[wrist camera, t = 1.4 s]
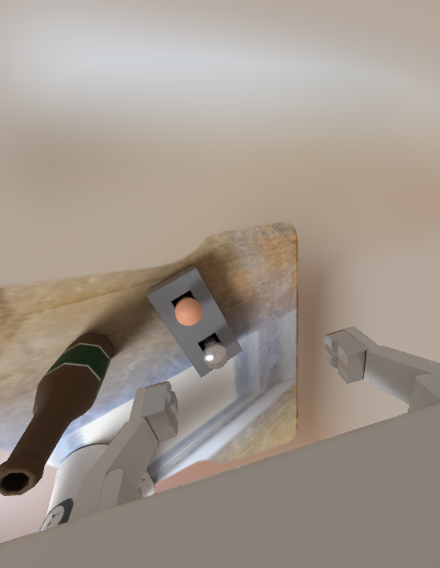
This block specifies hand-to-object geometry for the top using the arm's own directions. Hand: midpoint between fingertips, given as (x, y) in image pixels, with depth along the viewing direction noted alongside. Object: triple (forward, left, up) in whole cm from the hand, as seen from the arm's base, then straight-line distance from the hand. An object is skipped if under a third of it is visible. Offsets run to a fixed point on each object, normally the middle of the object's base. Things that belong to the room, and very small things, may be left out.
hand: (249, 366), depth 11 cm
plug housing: (-10, +3, -34) cm, 36 cm away
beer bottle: (-5, +23, -34) cm, 42 cm away
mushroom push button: (-5, +3, -31) cm, 31 cm away
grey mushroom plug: (-15, +3, -31) cm, 34 cm away
